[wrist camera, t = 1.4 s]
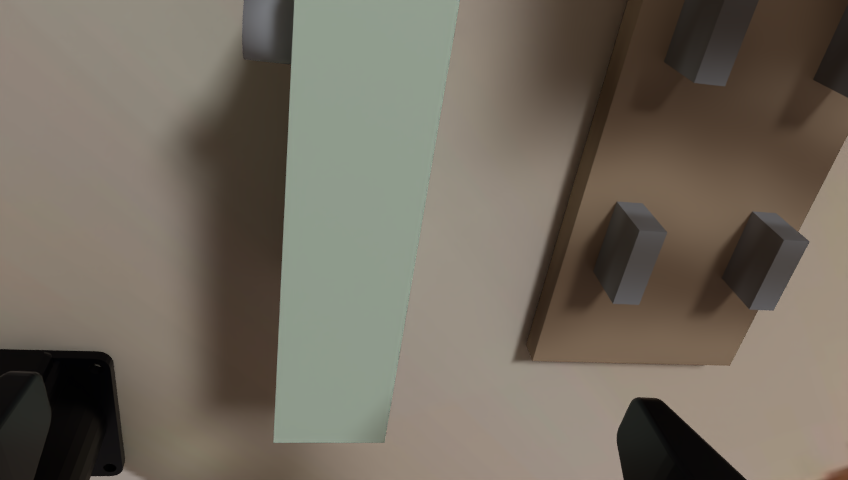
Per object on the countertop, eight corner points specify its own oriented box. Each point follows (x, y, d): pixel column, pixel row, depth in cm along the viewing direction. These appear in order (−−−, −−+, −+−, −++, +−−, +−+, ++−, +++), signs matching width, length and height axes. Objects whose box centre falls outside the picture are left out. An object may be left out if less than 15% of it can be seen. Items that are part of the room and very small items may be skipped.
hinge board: (718, 350, 30) (755, 399, 27) (526, 344, 28) (546, 396, 25) (975, -174, 19) (1073, -173, 17) (696, -233, 18) (759, -242, 15)
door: (367, 276, 25) (384, 442, 18) (258, 271, 24) (234, 442, 18) (411, -68, 19) (460, -8, 12) (267, -90, 18) (236, -37, 11)
